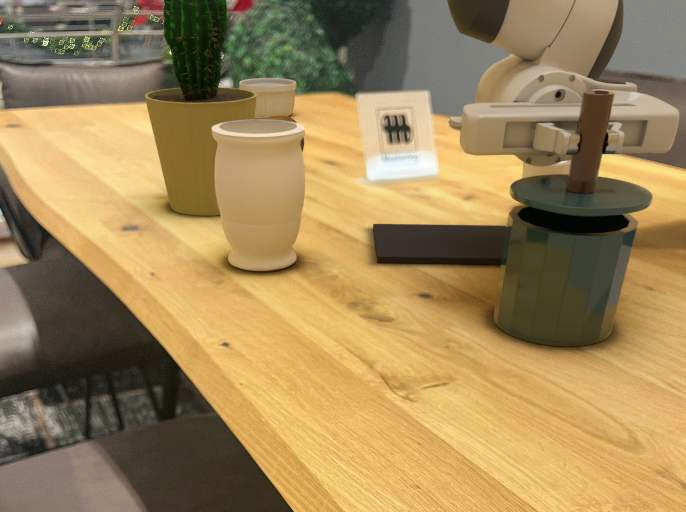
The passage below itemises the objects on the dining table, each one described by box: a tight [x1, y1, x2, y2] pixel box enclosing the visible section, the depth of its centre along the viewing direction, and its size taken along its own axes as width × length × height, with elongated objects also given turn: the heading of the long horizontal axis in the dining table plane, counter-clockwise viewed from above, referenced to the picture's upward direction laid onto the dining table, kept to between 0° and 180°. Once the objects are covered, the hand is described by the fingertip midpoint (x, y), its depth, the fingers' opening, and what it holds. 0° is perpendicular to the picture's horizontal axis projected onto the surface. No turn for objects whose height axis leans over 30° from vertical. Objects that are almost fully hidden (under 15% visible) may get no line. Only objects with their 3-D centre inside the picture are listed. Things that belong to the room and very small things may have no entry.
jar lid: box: [509, 90, 654, 217], centre depth 68 cm, size 13×13×9 cm
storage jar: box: [493, 204, 639, 348], centre depth 75 cm, size 12×12×10 cm
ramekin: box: [238, 77, 297, 118], centre depth 176 cm, size 13×13×7 cm
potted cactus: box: [144, 0, 257, 217], centre depth 105 cm, size 15×15×30 cm
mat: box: [372, 223, 507, 266], centre depth 98 cm, size 18×14×1 cm
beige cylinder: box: [519, 160, 571, 206], centre depth 111 cm, size 7×7×7 cm
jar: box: [212, 119, 306, 272], centre depth 89 cm, size 11×10×15 cm
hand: (593, 144), depth 67 cm, fingers closed on jar lid, 2 cm apart
